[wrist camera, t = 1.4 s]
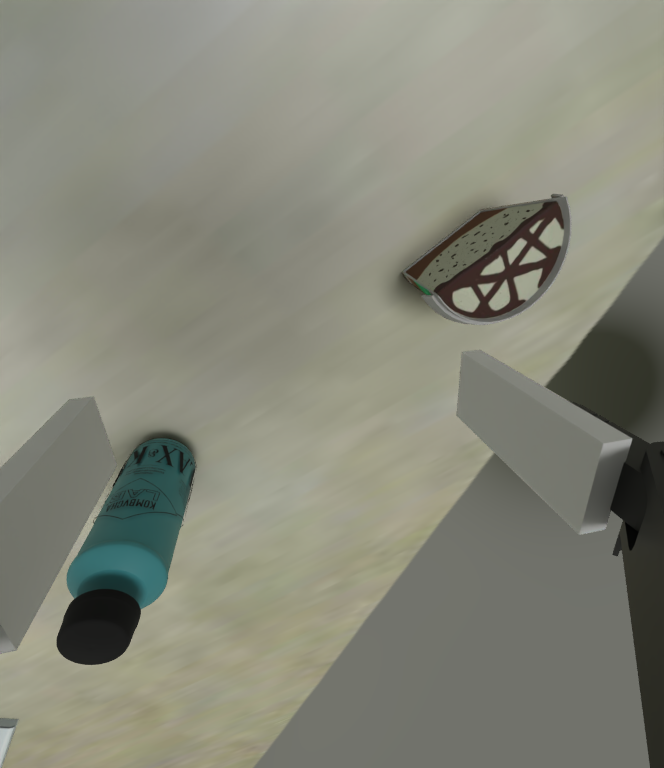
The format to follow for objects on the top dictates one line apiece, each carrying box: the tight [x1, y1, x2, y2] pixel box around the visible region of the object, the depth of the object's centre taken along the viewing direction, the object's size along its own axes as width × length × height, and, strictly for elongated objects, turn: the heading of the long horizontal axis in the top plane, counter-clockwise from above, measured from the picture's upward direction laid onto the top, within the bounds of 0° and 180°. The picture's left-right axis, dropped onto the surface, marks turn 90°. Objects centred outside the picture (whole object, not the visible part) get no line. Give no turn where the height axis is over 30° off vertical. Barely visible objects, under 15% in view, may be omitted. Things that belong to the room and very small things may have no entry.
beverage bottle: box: [57, 438, 197, 665], centre depth 31 cm, size 6×7×20 cm
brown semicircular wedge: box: [401, 194, 571, 325], centre depth 34 cm, size 12×6×10 cm, turn 127°
